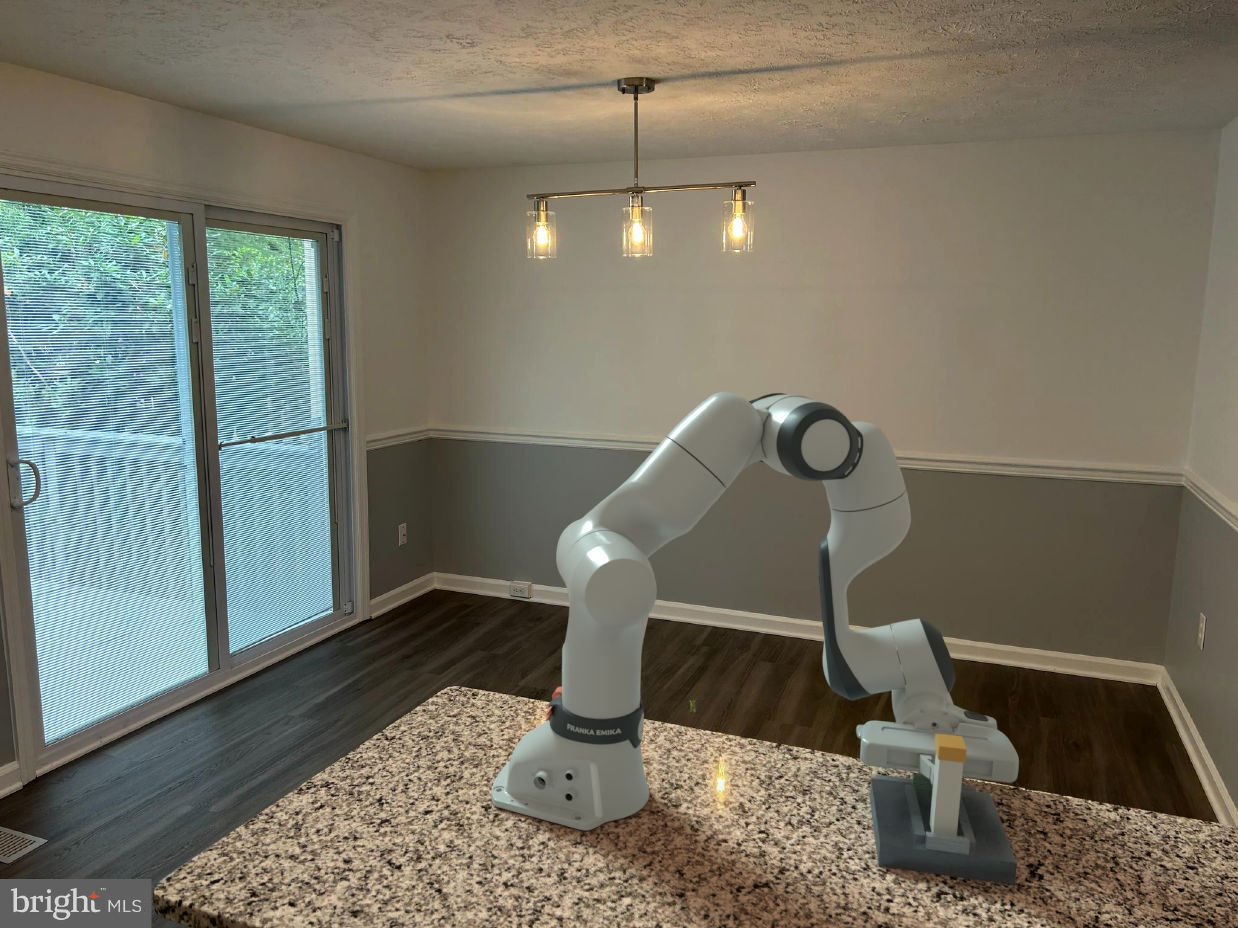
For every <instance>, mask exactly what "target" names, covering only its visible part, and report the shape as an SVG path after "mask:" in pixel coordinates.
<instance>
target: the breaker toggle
mask: <svg viewBox="0 0 1238 928" xmlns="http://www.w3.org/2000/svg"><path fill="white" fill-rule="evenodd" d="M934 747H935V750H936V756H935V768H934V779H933V791H932V802H931V814H930V827H931V832H932V833H940V834H947V835H955V836H957V827H958V816H959V805H960V794H961V785H963V784H962V781H963V777H962V773H963V763H966V752H967V749H966V746H965V743H964V740H963V738H962V736H954V735H945V734H935V745H934Z"/></svg>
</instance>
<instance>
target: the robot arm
mask: <svg viewBox="0 0 1238 928" xmlns="http://www.w3.org/2000/svg"><path fill="white" fill-rule="evenodd" d="M757 462H761V463H763V464H766V465H768V466H769V467H770V468H771V469H773V470H775V471H776V472H779V473H781V474H784V475H787V476H791V477H794V478H797V479H799V480H802V481H807V482H822V484H823V486H824V487H825V493H826V498H827V502H828V505H829V509H830V518H831V521H830V526H829V529H828V532H827V535H826V536H824V537H823V538H822V539H821V540H820V541H819V544H818V549H817V563H818V586H819V599H820V608H821V621H822V627H823V639H824V640H823V650H822V667H823V669H822V670H823V674H824V677H825V680H826V682H827V684H828V686H829V687H830V690H832V691H833V692H834V693H836V694H838V695H839V696H841V697H843V698H845V699H847V700H849V701H856V700H860V699H863V698H867V697H870V696H873V695H874V694H879V693H885V692H890V691H891V704H892V705H891V706H892V711H893V715H894V718H895V722H893V721H884V720H883V721H882V720H869V721H866V723H864V724H858V725H856V728H855V733H856V737H857V738H858V739H860V756H859V758H860V761H861V763H864V765H866V766H868V767H876V768H885V769H893V770H898V771H899V770H900V771H909V772H915V773H921V774H923V775H924V776H926V777H927V778H929V779H930V780H931V784H932V785H933V779H934V768H935V756H936V750H935V747H934V745H935V734H945V735H954V736H962V738H963V740H964V743H965V746H966V749H967V752H966V763H963V773H962V778H964V779H965V778H968V779H975V780H982V781H989V782H997V783H998V782H999V783H1007V784H1012V783H1013V782H1014V783H1015V781H1016V780H1017V779H1018V774H1019V766H1020V764H1019V763H1020V760H1019V755H1018V753H1017V751H1016V748H1015V747H1014V745H1013V744H1012V742H1011V741H1010V739H1009V738H1008V736H1006V734H1004V733H1003V732H1002V731H1000V730H999V729H998V724H997V720H996V719H995V718H994V717H991V716H988V715H985V714H984V715H983V714H981V713H977V712H973V711H970V710H967V709H964V708H961V707H959V706H958V705H955V704H954V702H953V699H952V696H951V695H950V693H951V691H952V690H953V686H954V684H955V681H956V673H955V667H954V663H953V660H952V656H951V654H950V651H949V649H948V647H947V644H946V642H945V640H944V637H943V635H942V633H941V630H940V629H938V628H937V627H936V626H935V625H933V624H932V623H931V622H929V621H928V620H926V619H923V618H922V617H920V618H913V619H908V620H903V621H897V622H893V623H890V624H886V625H882V626H881V625H880V626H875V627H872V628H871V627H870V628H867V629H862V630H861V629H859V630H853V629H850V623H849V609H848V608H849V607H848V597H847V596H848V595H847V593H848V592H847V591H848V588H849V585H850V584H851V582H852V581H853V579H854V578H856V576H857V577H858V575H859V574H860V573H861V572H863V571H864V570H865V569H867V568H868V567H871V565H873V564H875V563H876V562H878V561H880V560H882V559H883V558H885V557H887V556H888V555H889V554H891V553H892V552H893V551H894V550H895V549H896V548H897V547H898V546H899V545H901V543H902V542H903V540H904V539H905V538H906V536H907V534H908V532H909V529H910V527H911V524H912V523H911V522H912V515H911V513H912V512H911V507H910V501H909V500H910V499H909V495H908V490H907V486H906V484H905V483H906V482H905V480H904V476H903V473H902V470H901V467H900V464H899V461H898V459H897V457H896V453H895V452H894V449H893V447H892V445H891V443H890V441H889V439H888V437H887V434H886V433H885V431H884V430H883V429H882V428H881V427H879V426H878V425H876V424H874V423H871V422H867V421H852V422H851V421H850V419H848V417H847V416H846V415H845V414H844V413H842V411H840V410H839V409H837V407H834V406H833V405H831V404H829V403H826V402H821V401H816V400H814V399H813V398H811V397H808V396H805V395H800V394H787V393H783V392H776V393H775V392H773V393H768V394H765V395H762V396H760V397H757V398H755V399H752V400H747V399H746V398H744V397H743V396H741V395H739V394H736V393H733V392H729V391H718V392H716V393H713V394H711V395H710V396H708V398H707V397H706V399H704V400H703V401H702V402H700V403H699V404H698V405H697V406H695V408H694V409H692V410H691V411H690V412H689V413H688V414H687V415H685V417H683V418H682V420H680V421H679V422H678V423H677V424H676V425H675V426H674V427H673V429H671V430H670V432H669V433H668V434H667V435H666V436H665V437H664V438H663V440H662V441H661V442H659V444H658V445H657V446H656V447H655V448H654V450H653V451H652V452H651V453H650V454H649V455H648V456H647V458H646V459H645V460H644V461H643V462H642V463H641V464H640V465H639V467H638V468H637V469H636V470H635V471H634V472H633V473H632V474H631V475H630V477H629V478H627V479H626V480H625V481H624V482H623V483H622V484H621V485H620V486H619V487H618V488H617V489H615V490H614V491H613V492H612V493H610V494H609V495H607V497H605V498H604V499H603V500H601V501H600V502H599V503H597V505H595V506H594V507H593V508H592V509H591V510H590V511H588V512H587V513H586V514H585V515H584V516H582V518H580V519H577V520H575V521H573V522H572V523H570V524H569V525H567V526H566V527H565V529H564V530H563V531H562V533H560V536H559V538H558V542H557V546H556V557H555V560H556V567H557V571H558V574H559V575H560V576H561V578H562V580H563V582H564V585H565V586H566V590H567V595H568V601H569V602H568V603H569V609H568V621H567V622H568V623H567V628H566V633H565V640H564V643H563V646H562V648H561V649H562V650H561V651H562V652H561V653H562V655H561V658H562V659H561V661H562V662H561V686H557V687H556V689H555V690H554V692H553V694H552V695H551V698H552V700H550V701H549V703H548V708H547V710H546V711H545V712H546V713H545V716H546V717H545V718H546V719H545V720H546V721H544V722H543V723H541V724H540V725H538V726H536V727H535V728H533V729H531V730H530V731H528V732H527V733H525V734H524V736H523V737H522V738H520V740H519V741H518V743H517V744H516V745H515V748H514V749H513V752H512V755H511V757H510V759H509V762H507V764H505V765H504V766H503V767H502V768H501V770H500V771H499V773H498V774H497V775H496V777H495V780H494V782H493V784H492V787H491V802H492V804H493V806H494V807H496V808H500V809H503V810H507V811H510V812H514V813H518V814H521V815H526V816H529V817H533V818H536V819H540V820H543V821H547V822H551V823H554V824H559V825H562V826H564V827H569V828H573V829H576V830H580V831H591V830H593V829H595V828H597V827H599V826H602V825H603V824H604V823H608V822H612V821H617V820H621V819H624V818H627V817H630V816H632V815H634V814H636V813H638V812H639V811H640V810H641V809H643V808H644V807H645V806H646V804H647V803H648V801H649V798H650V788H649V785H648V782H647V779H646V774H645V769H644V762H643V754H642V740H643V738H644V720H645V719H644V717H645V716H644V715H645V714H644V713H645V712H644V706H643V705H644V702H643V700H642V698H641V674H642V673H641V671H642V651H643V646H644V645H643V644H644V638H645V634H646V629H647V625H648V620H649V616H650V613H651V611H652V610H653V608H654V606H655V604H656V601H657V596H658V595H657V593H658V589H657V581H656V576H655V573H654V570H653V567H652V564H651V561H650V560H649V558H650V557H651V556H652V555H653V554H654V553H656V552H657V551H658V550H659V549H661V548H662V547H664V546H665V545H666V544H668V543H670V542H671V541H672V540H674V539H676V538H678V537H681V536H684V535H685V534H687V533H689V532H690V531H691V530H693V528H694V527H695V526H696V525H697V523H698V522H699V521H700V520H701V519H702V518H703V517H704V516H705V515H706V514H707V512H708V511H709V510H710V509H711V508H712V507H713V505H714V504H715V503H716V502H717V501H718V500H719V498H720V497H721V496H722V495H723V494H724V493H725V492H726V490H727V489H728V488H729V487H730V486H731V485H732V484H733V482H734V481H735V480H736V478H737V477H738V475H740V473H741V472H743V471H744V470H745V469H746V468H747V467H749V466H751V465H752V464H755V463H757Z"/></svg>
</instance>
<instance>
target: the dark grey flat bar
mask: <svg viewBox="0 0 1238 928" xmlns="http://www.w3.org/2000/svg"><path fill="white" fill-rule="evenodd" d="M874 779H880V780H888V781H896V782H905V783H912V778H907V777H900V776H898V777H897V776H891V775H882V774H874ZM961 789H962V790H970V791H978V790H977V787H976V786H974V785H973V786H972V785H965V784H961Z"/></svg>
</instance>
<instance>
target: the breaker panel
mask: <svg viewBox="0 0 1238 928" xmlns="http://www.w3.org/2000/svg"><path fill="white" fill-rule="evenodd" d="M911 779H912V783H905V782H896V781H888V780H880V779H875V778H870V789H869V790H870V791H869V792H870V793H869V802H870V803H869V804H870V811H871V817H872V819H871V820H872V826H873V833H874V834H873V835H874V840H875V848H876V857H877V864H878V865H877V866H878V867H885V868H891V869H898V870H905V871H911V872H912V871H913V872H920V873H926V874H932V875H933V874H934V875H940V876H947V877H954V878H961V879H969V880H976V881H982V882H988V883H989V882H990V883H997V884H1005V885H1010V886H1011V885H1012V886H1015V885H1016V874H1017V866H1018V861H1017V860H1016V857H1015V855H1014V854H1015V853H1014V852H1013V850H1012V849H1013V848H1012V846H1011V844H1010V842H1009V841H1010V840H1009V839H1008V836H1007V833H1006V831H1005V828H1004V825H1003V822H1002V820H1001V818H1000V815H999V813H998V809H997V807H996V805H995V802H994V799H993V797H992V794H991V792H987V791H986V792H985V791H984V792H983V791H978V790H977V791H970V790H962V789H961V794H960V805H959V816H958V827H957V836H955V835H947V834H940V833H932V832H931V827H930V814H931V802H932V791H933V785H932V784H931V780H930V779H929V778H927V777H926V776H924V775H923V774H921V773H920V772H915V771H912V775H911Z"/></svg>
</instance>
